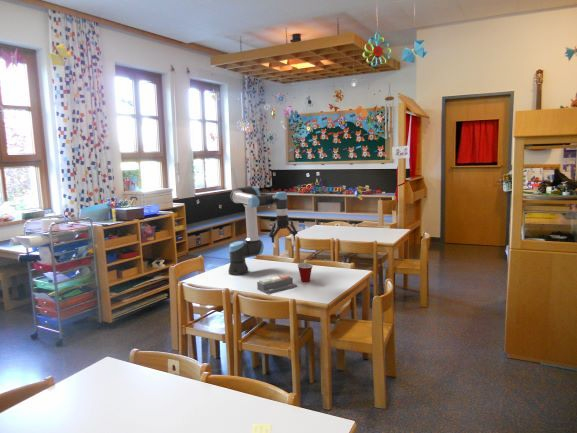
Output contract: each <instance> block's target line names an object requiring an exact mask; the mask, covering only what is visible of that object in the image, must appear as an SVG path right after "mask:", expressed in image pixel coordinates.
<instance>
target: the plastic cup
mask: <svg viewBox="0 0 577 433" xmlns="http://www.w3.org/2000/svg"><path fill="white" fill-rule="evenodd" d="M313 267H314V265H313V264H311V263H307V262H302V263H301V262H300V263H298V264H297V268H298V272H299V273H298V274H299V277H300V280H301V281H300V282H301V283H310V281H311V276H312V269H313Z"/></svg>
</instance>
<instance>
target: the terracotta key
mask: <svg viewBox="0 0 577 433" xmlns="http://www.w3.org/2000/svg"><path fill="white" fill-rule="evenodd" d="M277 277H279V278H281V279H282V280H285V279H289V278H290V277H291V275H288V274H287V273H286V274H281V275H278V276H277Z"/></svg>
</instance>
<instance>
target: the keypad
mask: <svg viewBox="0 0 577 433" xmlns="http://www.w3.org/2000/svg"><path fill="white" fill-rule="evenodd" d="M256 283H257V284H256V285H257V286H256V288H257V290H258V291H260V292H262V293H263V294H265V295H266V294H267V295H269V294H273V293H277V292H281V291H285V290H289V289H293V288H296V287H298V285H297V283H294V279H293V277H291V276H290V278H289V279H285V280H282V279H281V281H277V282H272V283H268V284H262V283H259V281H257V282H256Z"/></svg>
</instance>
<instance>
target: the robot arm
mask: <svg viewBox="0 0 577 433" xmlns="http://www.w3.org/2000/svg"><path fill="white" fill-rule="evenodd" d="M229 198H230V200H231V201H232V203H234V204H242V205H243V207H244V210H245V211H244V212H245V224H246V227H245V228H246V238H245V241H243V240H237V241H234V242H231V243H230V244H229V246H228V251H229V268H228V274H229V275H232V276H239V275H240V276H241V275H245V274H247V273H249V267H248V264H247V262H246V259H247V258H251V257H253V258H254V257H258V256H260V255H262V254H263V253H264V251H265V250H264V249H265V246H264V241H263V240H261V238H260V237H259V229H258V212H257V211H258V210H257V208H260V207H268V206H269V207H270V206H275V208H276V210H275V211H276V222H272V226H271V228H270V231H269V234H268V237H269V238H271V243H272V247H273V248H275V249H276V247H277V246H276V244H277V243H276V236H277V234H278V233H279V231H280V230H283V229H285V230H286V229H287V231H288V232H290V234H291V235H290V236H291V237H290V238H291V245H292V246H295V240H296V235H298V230H297V228H296V227H295V225H294V222H293V220H289V215H288V214H289V210H288V195H287V192H286V191H277V192H276V193H269V194H262V195H261V191H260V189H259V188H258V187H257V186H243V187H242V186H241V187H236V188H234V189H232V191H231V192H230V194H229ZM289 225H290V227H289Z"/></svg>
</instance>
